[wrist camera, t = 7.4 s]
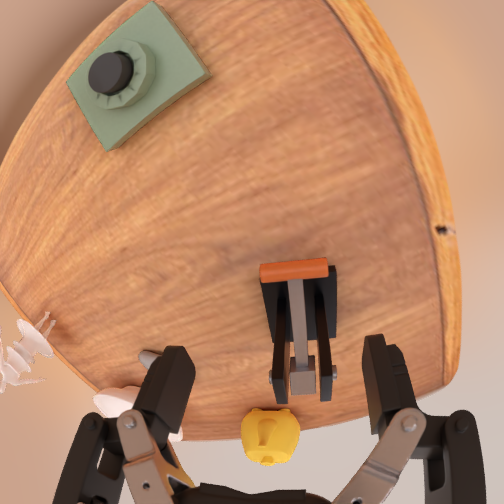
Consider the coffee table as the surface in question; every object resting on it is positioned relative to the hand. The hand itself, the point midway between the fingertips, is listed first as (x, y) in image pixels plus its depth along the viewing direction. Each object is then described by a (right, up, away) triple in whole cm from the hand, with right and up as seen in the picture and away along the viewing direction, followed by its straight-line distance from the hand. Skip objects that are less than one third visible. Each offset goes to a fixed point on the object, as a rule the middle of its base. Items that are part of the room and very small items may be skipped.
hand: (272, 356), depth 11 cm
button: (-12, +20, +6) cm, 24 cm away
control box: (-12, +21, +9) cm, 26 cm away
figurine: (-40, -8, +30) cm, 50 cm away
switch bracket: (+5, -2, +20) cm, 21 cm away
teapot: (+3, -27, +35) cm, 44 cm away
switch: (+3, -2, +11) cm, 12 cm away
